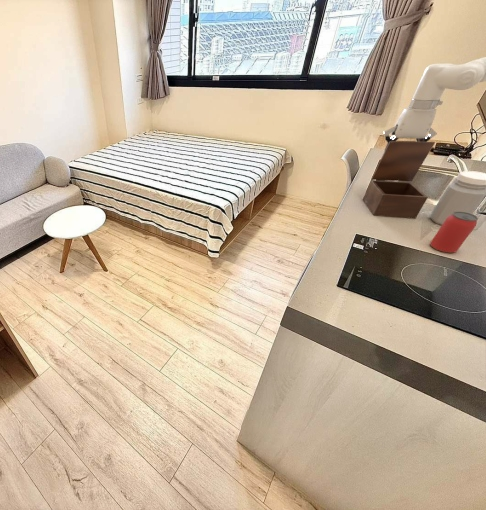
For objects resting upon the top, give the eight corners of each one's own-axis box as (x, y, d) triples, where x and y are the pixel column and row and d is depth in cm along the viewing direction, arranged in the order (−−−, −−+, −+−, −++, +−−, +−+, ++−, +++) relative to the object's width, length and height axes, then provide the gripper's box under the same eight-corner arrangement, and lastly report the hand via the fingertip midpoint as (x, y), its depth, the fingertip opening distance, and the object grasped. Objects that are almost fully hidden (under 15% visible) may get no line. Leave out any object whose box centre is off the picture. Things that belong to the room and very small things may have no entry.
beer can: (436, 252, 89) (459, 220, 82) (425, 241, 94) (445, 210, 87) (461, 254, 87) (486, 221, 80) (448, 243, 92) (471, 211, 85)
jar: (425, 222, 104) (454, 175, 93) (432, 213, 108) (459, 167, 98) (461, 231, 97) (496, 182, 87) (466, 221, 102) (500, 174, 92)
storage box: (415, 218, 106) (428, 197, 101) (373, 215, 110) (383, 194, 104) (400, 202, 117) (410, 182, 112) (362, 199, 121) (370, 180, 116)
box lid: (435, 142, 101) (429, 137, 105) (390, 141, 105) (385, 136, 108) (411, 181, 111) (406, 175, 115) (371, 179, 115) (368, 173, 119)
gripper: (447, 102, 100) (421, 152, 111) (390, 103, 105) (370, 150, 115) (458, 106, 95) (430, 157, 105) (398, 106, 99) (376, 156, 110)
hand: (399, 153), depth 110 cm, fingers open, 7 cm apart
